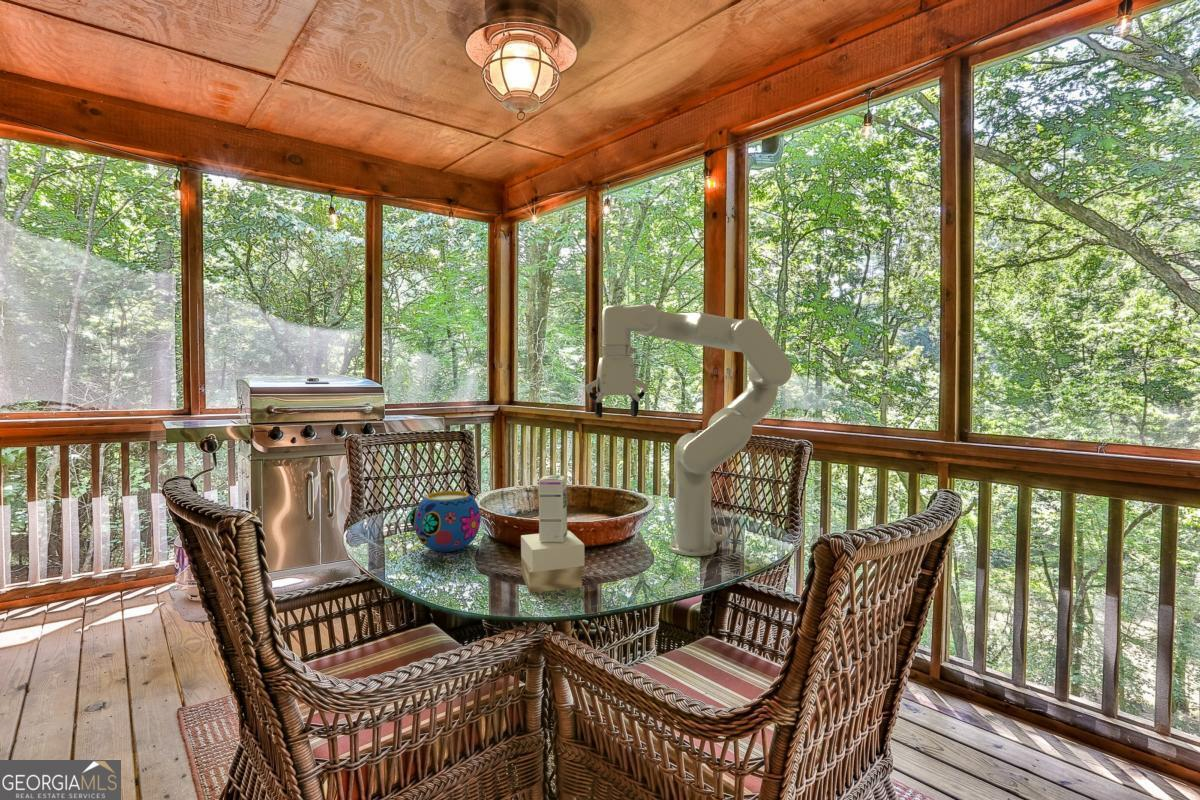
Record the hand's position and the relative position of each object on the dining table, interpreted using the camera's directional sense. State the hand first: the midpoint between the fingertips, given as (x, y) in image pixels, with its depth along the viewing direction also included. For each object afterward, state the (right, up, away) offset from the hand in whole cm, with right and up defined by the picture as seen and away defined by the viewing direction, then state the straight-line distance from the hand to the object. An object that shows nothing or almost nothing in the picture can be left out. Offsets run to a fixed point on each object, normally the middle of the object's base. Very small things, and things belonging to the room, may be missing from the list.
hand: (616, 416), depth 158 cm
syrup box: (-15, -28, -21) cm, 38 cm away
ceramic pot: (-46, -37, +4) cm, 59 cm away
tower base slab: (-16, -38, -20) cm, 46 cm away
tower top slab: (-16, -33, -20) cm, 42 cm away
